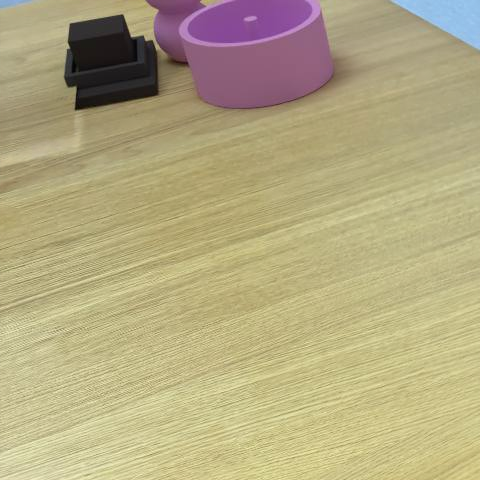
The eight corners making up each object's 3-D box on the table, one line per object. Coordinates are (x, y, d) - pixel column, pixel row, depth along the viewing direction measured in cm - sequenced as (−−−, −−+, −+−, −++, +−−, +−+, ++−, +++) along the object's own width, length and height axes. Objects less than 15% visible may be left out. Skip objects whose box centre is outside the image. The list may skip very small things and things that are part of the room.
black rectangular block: (83, 83, 117) (67, 41, 114) (84, 63, 122) (69, 23, 118) (137, 73, 118) (123, 31, 115) (137, 54, 122) (123, 13, 119)
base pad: (66, 111, 115) (56, 87, 113) (71, 65, 125) (62, 41, 123) (158, 94, 117) (150, 70, 115) (156, 49, 126) (148, 26, 124)
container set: (361, 67, 117) (335, -63, 108) (254, 120, 110) (216, -15, 100) (226, 26, 130) (193, -94, 120) (122, 70, 122) (77, -54, 113)
